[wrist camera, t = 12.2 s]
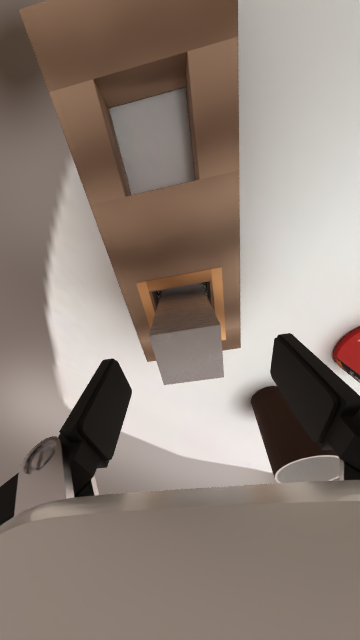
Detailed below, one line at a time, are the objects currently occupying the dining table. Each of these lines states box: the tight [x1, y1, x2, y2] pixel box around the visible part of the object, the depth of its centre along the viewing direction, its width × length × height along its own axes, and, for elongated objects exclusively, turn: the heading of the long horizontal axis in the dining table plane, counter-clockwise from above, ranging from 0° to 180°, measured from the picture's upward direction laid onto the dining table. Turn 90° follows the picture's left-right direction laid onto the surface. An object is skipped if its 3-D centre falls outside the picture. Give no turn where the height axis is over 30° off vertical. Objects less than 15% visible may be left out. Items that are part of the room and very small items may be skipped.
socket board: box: [19, 0, 241, 362], centre depth 15 cm, size 26×12×3 cm, turn 10°
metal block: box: [149, 283, 224, 385], centre depth 15 cm, size 4×4×10 cm
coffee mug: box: [251, 386, 340, 483], centre depth 24 cm, size 12×9×10 cm
